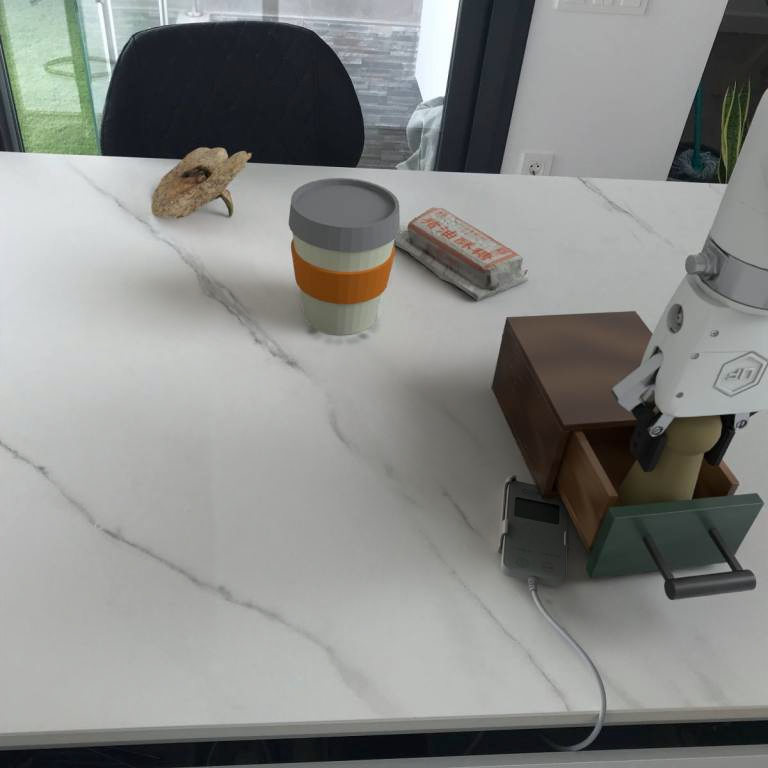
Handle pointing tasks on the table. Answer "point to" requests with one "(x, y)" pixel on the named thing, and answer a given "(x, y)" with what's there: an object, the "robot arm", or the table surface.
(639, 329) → the cabinet
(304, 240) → the reusable coffee cup
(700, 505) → the drawer
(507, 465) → the table surface
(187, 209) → the dried bracket fungus
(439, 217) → the packaged product
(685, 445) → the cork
